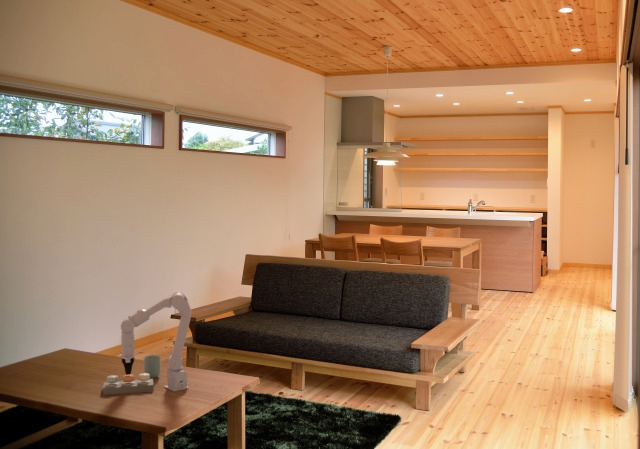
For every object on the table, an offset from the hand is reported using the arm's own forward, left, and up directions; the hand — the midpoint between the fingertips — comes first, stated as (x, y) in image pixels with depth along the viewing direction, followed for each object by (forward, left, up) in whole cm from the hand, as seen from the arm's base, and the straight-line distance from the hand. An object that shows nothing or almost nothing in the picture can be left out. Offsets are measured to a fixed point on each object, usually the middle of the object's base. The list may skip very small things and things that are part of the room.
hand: (128, 374), depth 312 cm
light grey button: (+3, +6, -3) cm, 8 cm away
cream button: (-3, -6, -3) cm, 8 cm away
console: (0, 0, -7) cm, 7 cm away
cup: (+11, -18, -8) cm, 22 cm away
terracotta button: (0, 0, -3) cm, 3 cm away
